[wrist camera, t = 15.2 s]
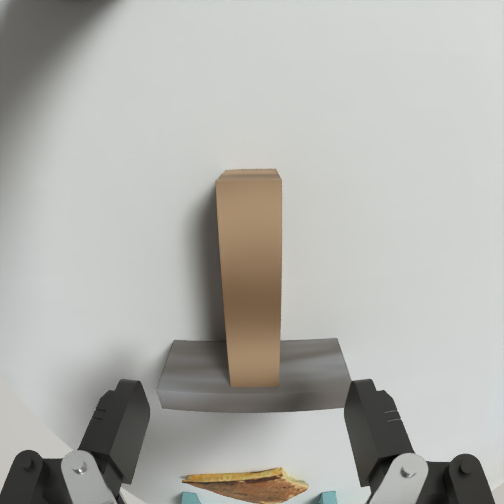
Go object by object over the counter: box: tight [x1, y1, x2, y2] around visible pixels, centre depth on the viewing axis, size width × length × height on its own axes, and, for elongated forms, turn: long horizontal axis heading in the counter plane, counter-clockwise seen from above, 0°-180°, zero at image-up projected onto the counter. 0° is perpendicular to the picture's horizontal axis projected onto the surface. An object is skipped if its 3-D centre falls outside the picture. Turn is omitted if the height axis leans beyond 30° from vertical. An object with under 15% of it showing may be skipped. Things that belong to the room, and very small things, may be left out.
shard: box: [182, 468, 309, 504], centre depth 25 cm, size 11×8×2 cm
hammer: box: [157, 169, 352, 413], centre depth 15 cm, size 12×10×4 cm
